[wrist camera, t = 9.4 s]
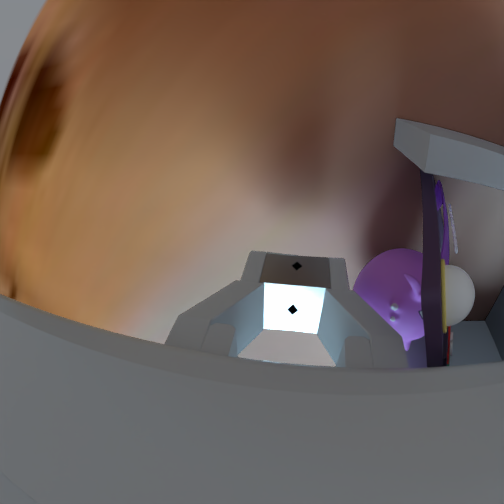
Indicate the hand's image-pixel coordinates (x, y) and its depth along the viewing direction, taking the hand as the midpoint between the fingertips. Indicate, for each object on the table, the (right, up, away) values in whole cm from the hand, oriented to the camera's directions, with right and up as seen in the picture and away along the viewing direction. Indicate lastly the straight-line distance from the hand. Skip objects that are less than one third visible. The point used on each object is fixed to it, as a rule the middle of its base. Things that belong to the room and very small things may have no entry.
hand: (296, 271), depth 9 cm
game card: (+5, 0, +2) cm, 5 cm away
